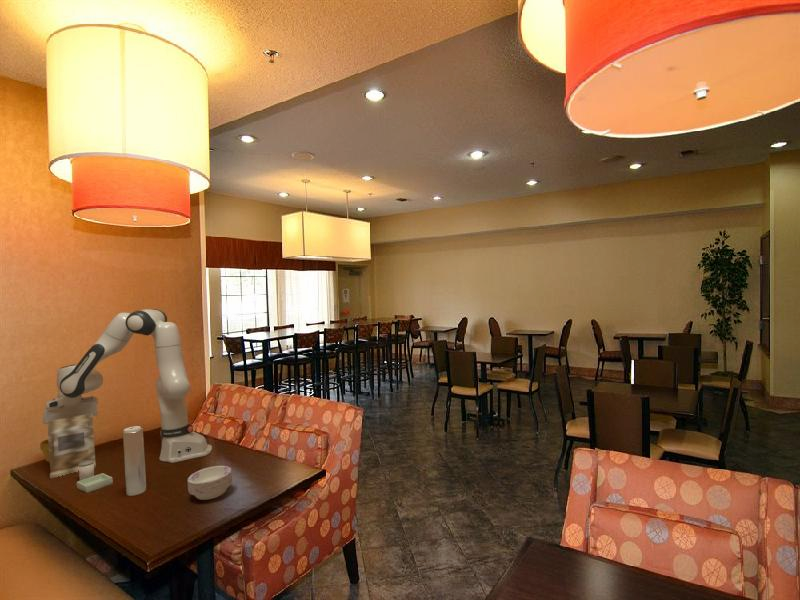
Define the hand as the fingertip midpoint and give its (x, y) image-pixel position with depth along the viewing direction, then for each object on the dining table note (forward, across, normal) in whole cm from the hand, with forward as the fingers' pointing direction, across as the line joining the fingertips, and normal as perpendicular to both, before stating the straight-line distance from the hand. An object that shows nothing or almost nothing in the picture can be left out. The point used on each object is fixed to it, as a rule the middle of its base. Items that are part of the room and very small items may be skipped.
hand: (71, 428), depth 195 cm
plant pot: (+16, +7, -12) cm, 22 cm away
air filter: (+16, -20, +58) cm, 63 cm away
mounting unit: (+16, 0, +10) cm, 19 cm away
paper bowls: (+16, -42, +81) cm, 92 cm away
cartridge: (+16, -5, +27) cm, 32 cm away
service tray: (+16, -7, +39) cm, 43 cm away
